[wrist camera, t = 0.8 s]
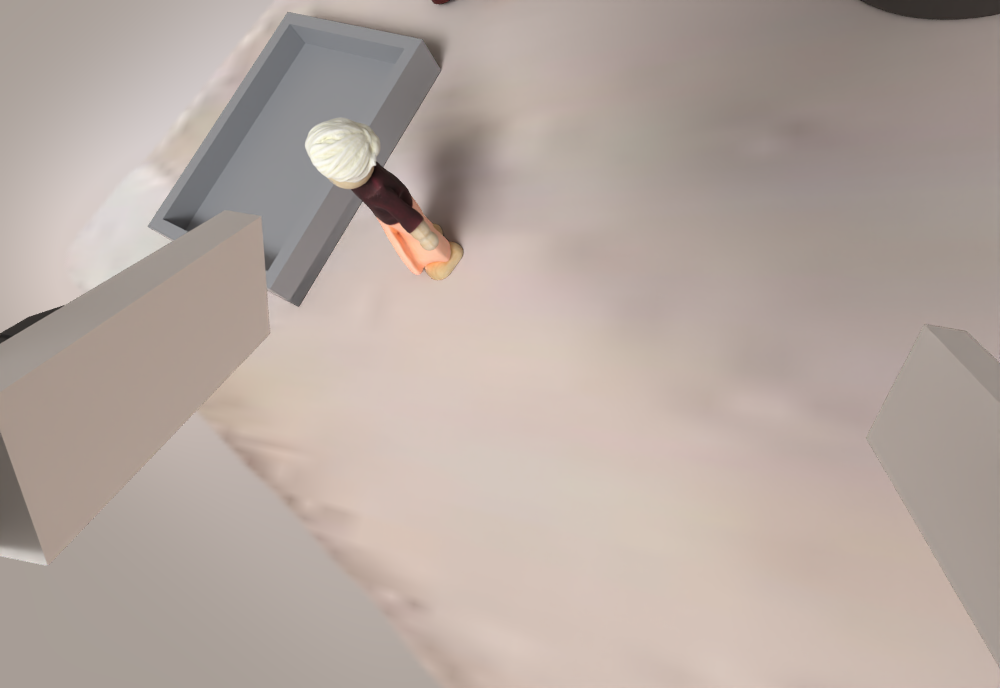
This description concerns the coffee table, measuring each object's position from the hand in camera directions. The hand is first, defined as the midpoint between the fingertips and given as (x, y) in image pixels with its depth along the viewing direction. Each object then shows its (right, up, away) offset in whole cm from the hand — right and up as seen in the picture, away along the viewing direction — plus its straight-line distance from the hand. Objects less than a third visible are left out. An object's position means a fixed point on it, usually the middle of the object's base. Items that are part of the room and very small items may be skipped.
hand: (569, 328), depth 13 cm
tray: (-16, +13, +35) cm, 41 cm away
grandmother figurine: (-5, +5, +28) cm, 29 cm away
